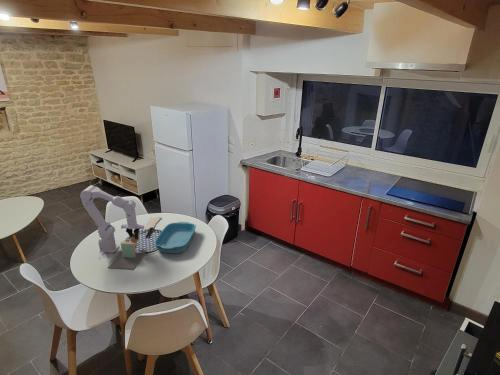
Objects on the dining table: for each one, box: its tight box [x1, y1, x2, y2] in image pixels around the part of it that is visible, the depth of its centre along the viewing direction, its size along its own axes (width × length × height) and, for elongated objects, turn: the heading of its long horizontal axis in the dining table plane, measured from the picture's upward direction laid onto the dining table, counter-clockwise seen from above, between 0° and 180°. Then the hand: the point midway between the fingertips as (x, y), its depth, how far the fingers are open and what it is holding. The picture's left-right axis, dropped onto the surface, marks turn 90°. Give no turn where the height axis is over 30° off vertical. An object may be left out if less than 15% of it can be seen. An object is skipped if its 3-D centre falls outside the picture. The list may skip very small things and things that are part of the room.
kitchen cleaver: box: [145, 216, 162, 237], centre depth 235 cm, size 31×2×10 cm
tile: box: [120, 241, 137, 258], centre depth 196 cm, size 8×2×10 cm, turn 84°
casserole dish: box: [154, 221, 197, 254], centre depth 214 cm, size 37×22×7 cm, turn 175°
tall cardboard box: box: [129, 232, 140, 250], centre depth 202 cm, size 12×6×5 cm, turn 175°
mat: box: [107, 250, 146, 271], centre depth 195 cm, size 16×18×1 cm
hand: (134, 238), depth 204 cm, fingers closed on tall cardboard box, 3 cm apart
